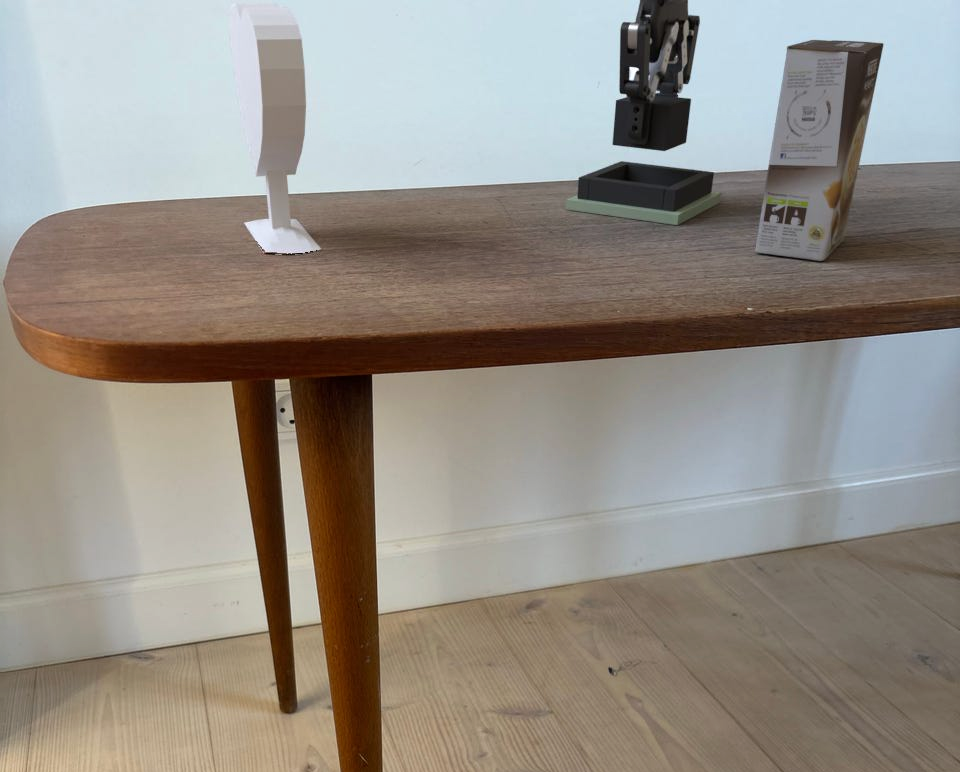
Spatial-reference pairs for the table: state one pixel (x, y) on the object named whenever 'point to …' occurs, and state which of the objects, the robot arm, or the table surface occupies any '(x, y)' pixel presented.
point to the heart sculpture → (271, 113)
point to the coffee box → (817, 146)
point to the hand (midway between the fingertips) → (650, 138)
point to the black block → (656, 123)
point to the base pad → (645, 192)
